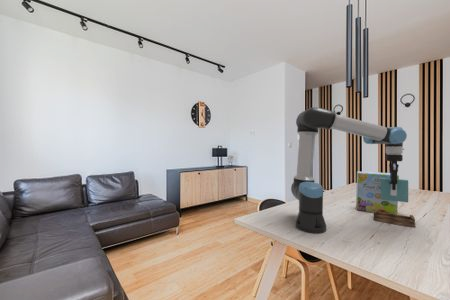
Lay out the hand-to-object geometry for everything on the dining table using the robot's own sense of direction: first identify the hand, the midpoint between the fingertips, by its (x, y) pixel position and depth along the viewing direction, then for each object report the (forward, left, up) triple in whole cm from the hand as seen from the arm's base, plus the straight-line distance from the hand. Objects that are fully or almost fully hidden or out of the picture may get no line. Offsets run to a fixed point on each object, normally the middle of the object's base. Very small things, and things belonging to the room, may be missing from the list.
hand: (393, 194), depth 118 cm
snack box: (+15, +8, -16) cm, 23 cm away
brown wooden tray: (0, 0, -15) cm, 15 cm away
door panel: (0, 0, -3) cm, 3 cm away
